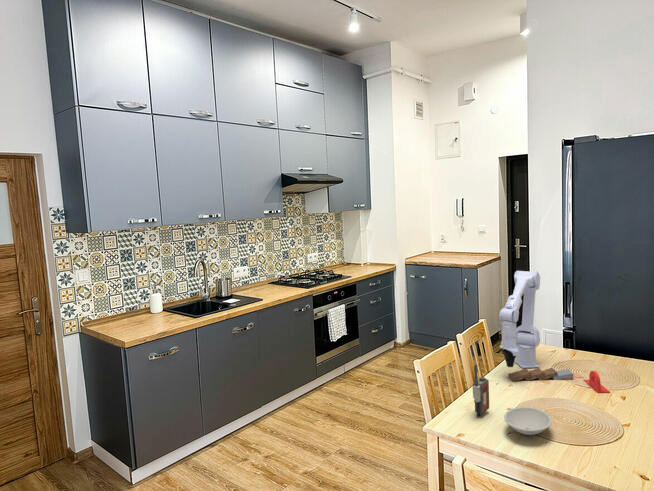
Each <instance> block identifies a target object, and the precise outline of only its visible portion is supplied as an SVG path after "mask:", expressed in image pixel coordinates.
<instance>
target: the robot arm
mask: <svg viewBox="0 0 654 491" xmlns="http://www.w3.org/2000/svg"><path fill="white" fill-rule="evenodd" d="M513 279H514V285H515V286H514V289H513V293H512V294H511V295H509V296H508V298H507V300H506V303H505V305H504V307H503V308H501V309H500V310H499V316H498V317H499V318H498V319H499V320H500V326H501V338H502V339H501V341H500V342H501V343H500V345H499V348H500V349H501V352H502V354H503V356H504V360H505V364H506V367H508V368H513V367H514V365H515V363H516V364H517V365H518V366H519V367H520V368H522V369H528V368H529V369H530V368H540V365H539V364H538V363H537V359H536V358H537V349H536V348H537V347H538V346H539V345H540V343H541V342H540V341H541V337H540V331H539V329H538V328H536V326H534V316H535V305H536V304H535V302H536V292H537V291H538V290H540V285H541V275H540V273H539V272H538V271H529V270H528V271H525V270H516V271H515V272H514V274H513ZM522 296H523V297H522ZM522 299H523V300H522ZM521 305H522V318H521V324H520V325H519V326H517V322H518V321H519V315H520V311H519V310H520V307H521Z"/></svg>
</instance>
